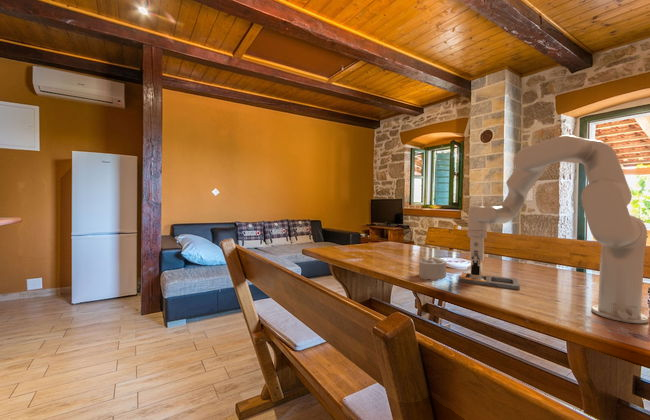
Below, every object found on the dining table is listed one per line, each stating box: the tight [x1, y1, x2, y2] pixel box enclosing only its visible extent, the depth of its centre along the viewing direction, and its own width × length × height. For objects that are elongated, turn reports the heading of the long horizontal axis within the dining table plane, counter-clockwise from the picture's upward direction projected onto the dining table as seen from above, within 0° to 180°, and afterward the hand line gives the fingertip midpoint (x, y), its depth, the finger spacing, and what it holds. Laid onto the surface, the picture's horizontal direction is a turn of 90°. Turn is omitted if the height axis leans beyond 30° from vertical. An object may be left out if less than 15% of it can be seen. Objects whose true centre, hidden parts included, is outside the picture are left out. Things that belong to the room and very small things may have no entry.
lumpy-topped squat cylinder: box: [418, 256, 447, 281], centre depth 138 cm, size 10×13×9 cm
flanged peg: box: [468, 261, 485, 280], centre depth 132 cm, size 6×6×8 cm
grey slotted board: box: [459, 271, 521, 291], centre depth 130 cm, size 13×22×2 cm, turn 60°
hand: (476, 272), depth 132 cm, fingers open, 9 cm apart
